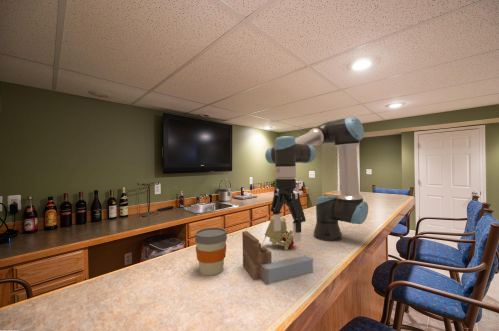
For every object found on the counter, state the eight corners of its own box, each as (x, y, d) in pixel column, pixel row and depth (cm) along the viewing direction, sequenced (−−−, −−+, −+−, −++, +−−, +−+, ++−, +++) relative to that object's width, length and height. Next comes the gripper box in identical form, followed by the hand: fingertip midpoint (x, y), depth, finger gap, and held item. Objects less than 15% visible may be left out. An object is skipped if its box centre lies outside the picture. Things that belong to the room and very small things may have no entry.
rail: (306, 267, 84) (305, 254, 84) (313, 272, 80) (312, 258, 80) (260, 278, 76) (260, 264, 76) (266, 284, 72) (265, 269, 72)
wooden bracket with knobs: (258, 262, 89) (257, 229, 89) (271, 276, 78) (271, 238, 78) (242, 265, 86) (242, 231, 86) (254, 280, 75) (253, 240, 75)
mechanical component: (292, 264, 101) (308, 227, 99) (258, 248, 104) (274, 211, 103) (292, 257, 108) (307, 222, 107) (261, 242, 112) (275, 208, 110)
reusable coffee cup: (232, 264, 87) (231, 228, 87) (218, 280, 75) (217, 238, 75) (206, 261, 91) (205, 226, 91) (188, 275, 79) (188, 235, 80)
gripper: (262, 177, 88) (262, 228, 88) (296, 180, 65) (297, 248, 65) (277, 177, 91) (278, 226, 91) (316, 179, 68) (317, 245, 68)
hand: (286, 235), depth 78 cm, fingers open, 13 cm apart
